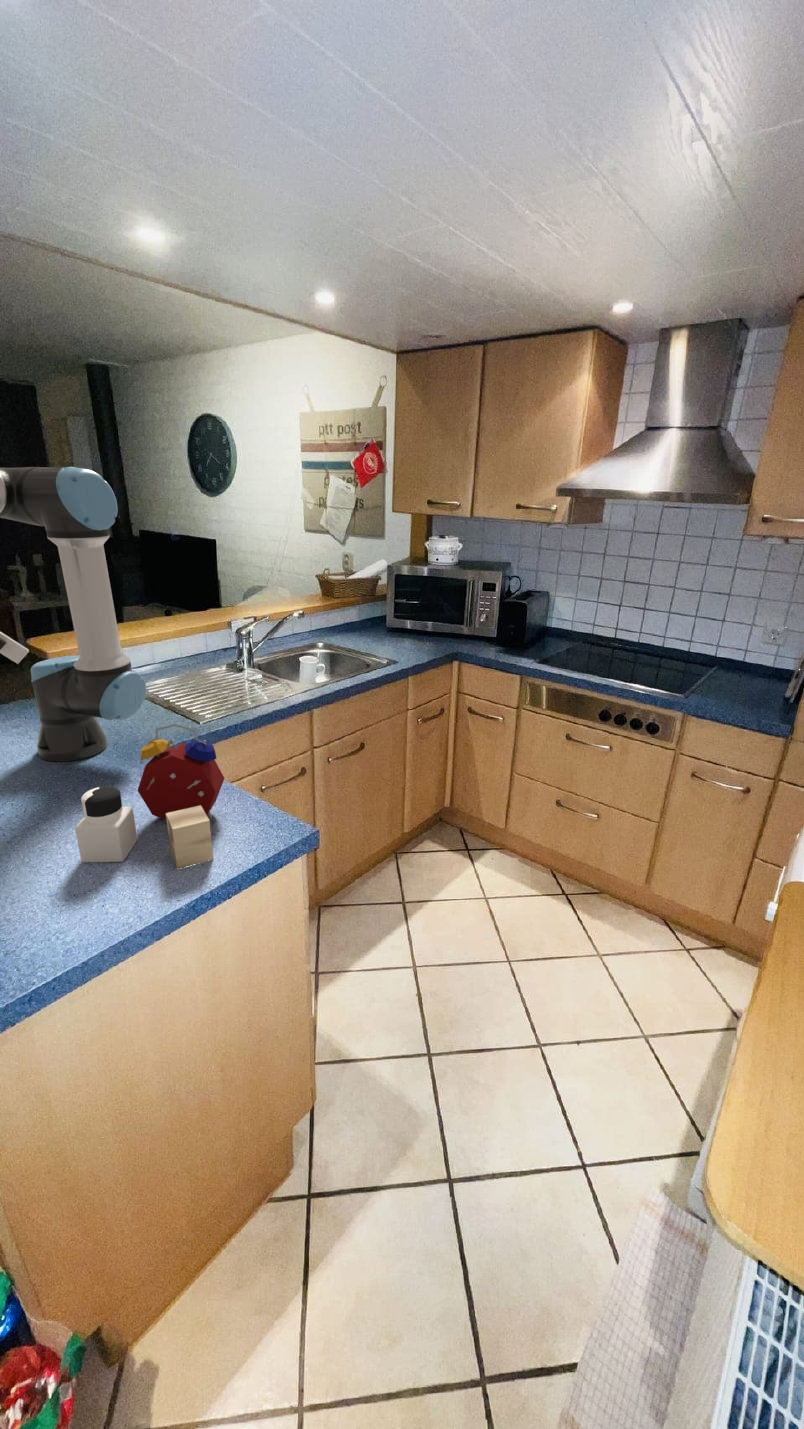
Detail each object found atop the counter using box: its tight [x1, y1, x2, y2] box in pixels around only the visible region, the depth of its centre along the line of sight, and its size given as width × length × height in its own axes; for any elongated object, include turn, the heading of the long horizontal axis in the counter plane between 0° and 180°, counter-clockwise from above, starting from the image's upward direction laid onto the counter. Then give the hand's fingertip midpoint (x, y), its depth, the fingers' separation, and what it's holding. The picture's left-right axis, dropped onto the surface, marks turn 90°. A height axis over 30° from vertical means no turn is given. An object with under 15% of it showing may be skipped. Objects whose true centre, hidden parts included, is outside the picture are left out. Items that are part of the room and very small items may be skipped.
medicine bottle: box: [74, 786, 138, 863], centre depth 103 cm, size 7×7×12 cm
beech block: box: [166, 805, 214, 870], centre depth 103 cm, size 6×6×8 cm
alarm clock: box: [137, 723, 225, 821], centre depth 112 cm, size 15×9×20 cm, turn 90°
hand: (23, 656), depth 98 cm, fingers closed
